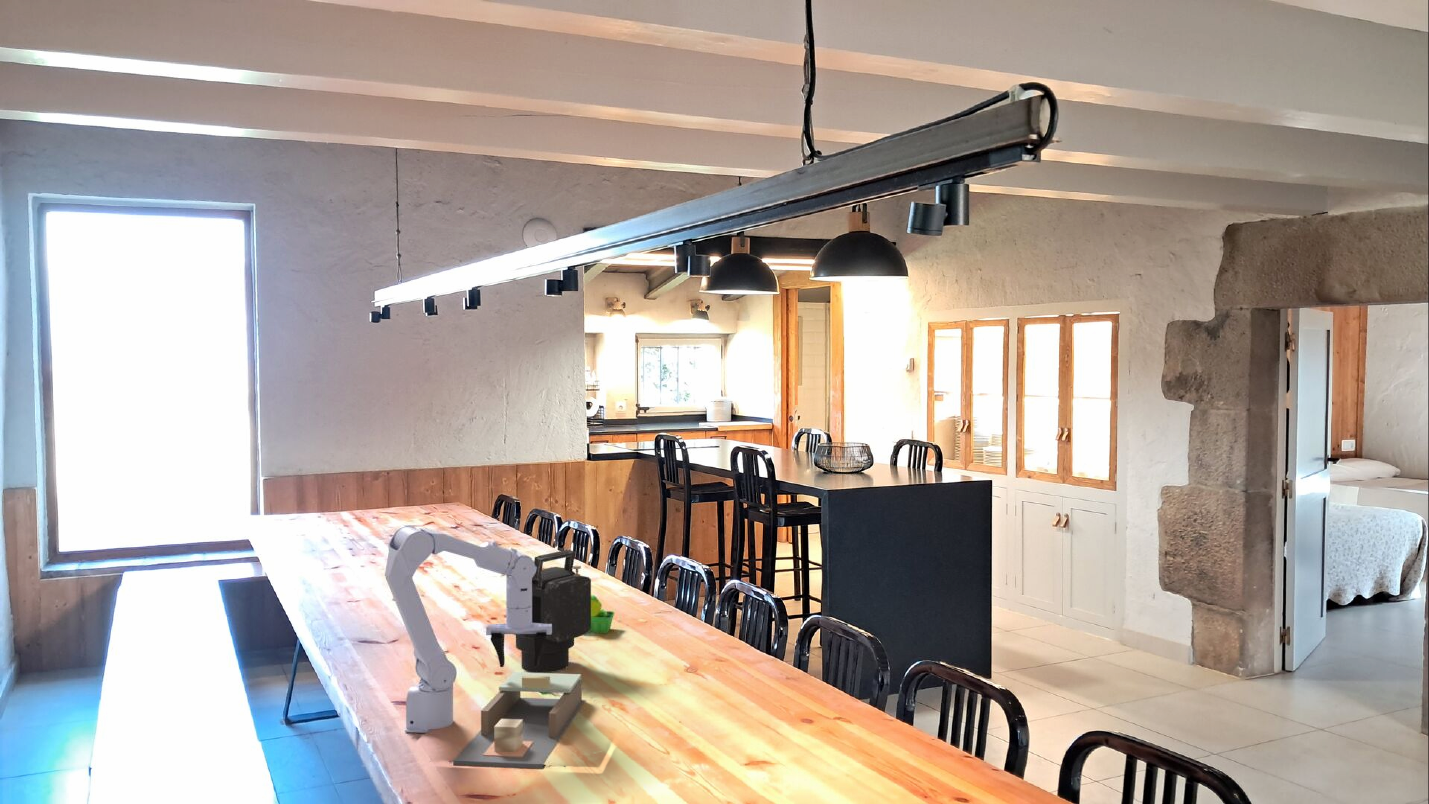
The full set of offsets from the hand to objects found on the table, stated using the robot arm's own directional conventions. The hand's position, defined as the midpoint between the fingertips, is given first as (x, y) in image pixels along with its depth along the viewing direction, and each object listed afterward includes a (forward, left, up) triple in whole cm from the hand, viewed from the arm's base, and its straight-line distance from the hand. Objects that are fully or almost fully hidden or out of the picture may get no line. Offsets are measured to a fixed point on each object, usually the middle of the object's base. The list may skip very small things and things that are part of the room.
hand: (519, 665), depth 229 cm
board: (+5, -12, -10) cm, 17 cm away
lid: (+5, 0, -4) cm, 6 cm away
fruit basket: (+2, +70, -11) cm, 71 cm away
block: (+5, -25, -9) cm, 27 cm away
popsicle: (+3, +15, -11) cm, 19 cm away
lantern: (-2, +34, -11) cm, 36 cm away
